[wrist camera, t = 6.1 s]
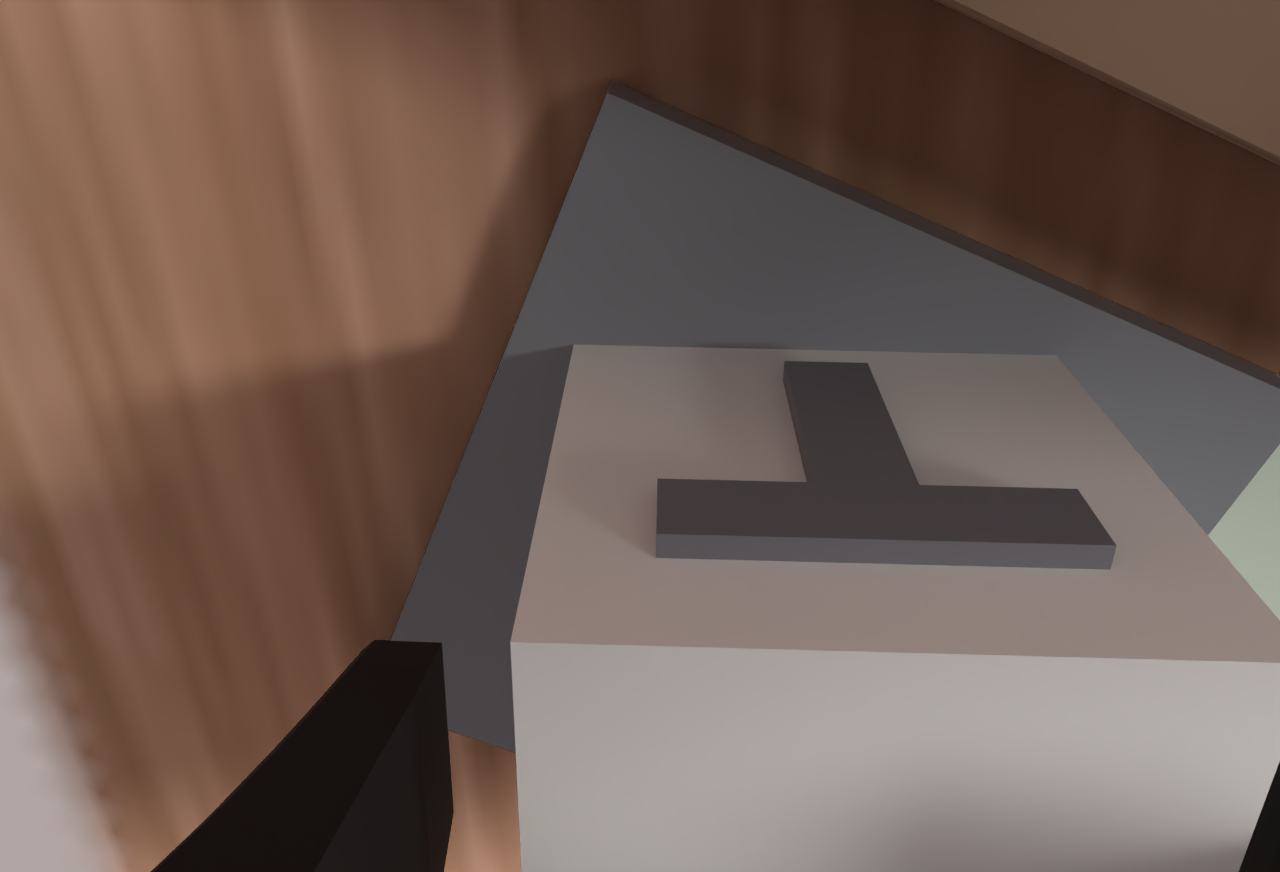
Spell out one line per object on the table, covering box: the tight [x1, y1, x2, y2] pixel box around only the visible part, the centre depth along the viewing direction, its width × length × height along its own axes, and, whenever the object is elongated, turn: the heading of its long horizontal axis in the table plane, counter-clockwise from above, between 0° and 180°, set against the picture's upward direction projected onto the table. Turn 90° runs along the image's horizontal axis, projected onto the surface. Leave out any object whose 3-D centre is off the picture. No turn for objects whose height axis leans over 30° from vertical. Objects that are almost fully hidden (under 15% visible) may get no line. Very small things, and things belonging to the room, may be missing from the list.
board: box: [390, 80, 1280, 753], centre depth 13 cm, size 16×8×1 cm, turn 67°
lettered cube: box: [510, 344, 1280, 872], centre depth 10 cm, size 5×5×5 cm
